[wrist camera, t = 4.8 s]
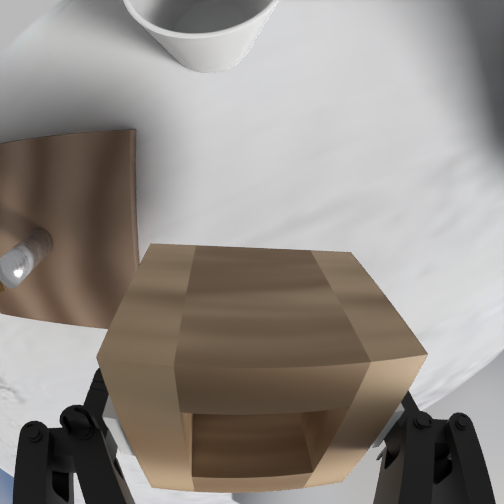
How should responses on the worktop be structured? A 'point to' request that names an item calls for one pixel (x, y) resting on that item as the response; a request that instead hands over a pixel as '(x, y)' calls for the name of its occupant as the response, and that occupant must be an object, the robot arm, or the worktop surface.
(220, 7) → the mug
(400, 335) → the hollow wooden frame
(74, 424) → the robot arm
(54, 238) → the base board
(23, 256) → the post
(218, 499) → the worktop surface
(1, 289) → the dowel
